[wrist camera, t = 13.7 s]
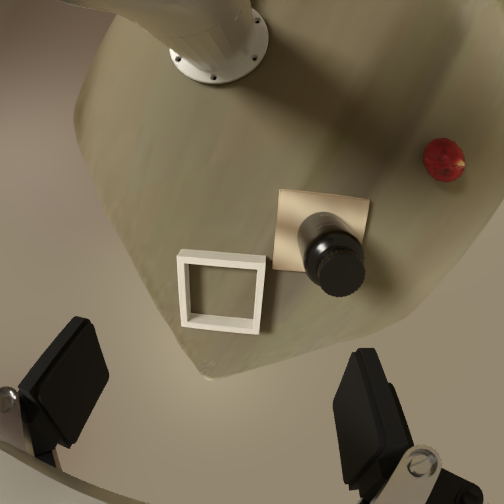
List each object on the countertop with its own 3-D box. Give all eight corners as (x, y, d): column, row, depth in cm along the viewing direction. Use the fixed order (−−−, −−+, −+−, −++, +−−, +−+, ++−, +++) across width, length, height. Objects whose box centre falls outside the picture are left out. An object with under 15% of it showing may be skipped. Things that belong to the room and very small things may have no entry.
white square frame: (181, 248, 41) (176, 255, 39) (265, 255, 41) (265, 263, 39) (185, 317, 46) (181, 326, 44) (259, 324, 46) (258, 334, 43)
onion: (424, 184, 35) (454, 197, 28) (407, 148, 33) (436, 155, 26) (451, 164, 33) (484, 174, 26) (435, 129, 32) (467, 132, 24)
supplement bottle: (344, 258, 39) (369, 306, 28) (295, 258, 40) (304, 308, 29) (348, 210, 36) (379, 244, 25) (297, 209, 37) (308, 244, 26)
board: (279, 188, 37) (279, 190, 36) (367, 198, 37) (370, 200, 36) (272, 266, 41) (272, 269, 40) (353, 272, 41) (355, 275, 40)
